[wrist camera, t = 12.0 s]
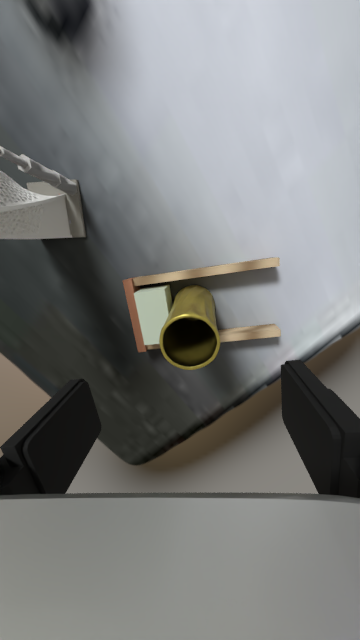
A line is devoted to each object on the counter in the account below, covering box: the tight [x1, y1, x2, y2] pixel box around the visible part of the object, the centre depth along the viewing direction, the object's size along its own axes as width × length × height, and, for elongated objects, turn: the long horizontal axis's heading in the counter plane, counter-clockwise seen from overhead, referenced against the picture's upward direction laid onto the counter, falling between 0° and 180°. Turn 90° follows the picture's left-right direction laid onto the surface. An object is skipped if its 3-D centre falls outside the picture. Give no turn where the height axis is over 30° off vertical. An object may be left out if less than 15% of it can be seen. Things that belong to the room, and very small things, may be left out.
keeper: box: [134, 285, 173, 345], centre depth 30 cm, size 4×7×4 cm, turn 8°
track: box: [123, 258, 281, 352], centre depth 30 cm, size 20×10×3 cm, turn 98°
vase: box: [159, 285, 220, 370], centre depth 25 cm, size 6×6×14 cm
